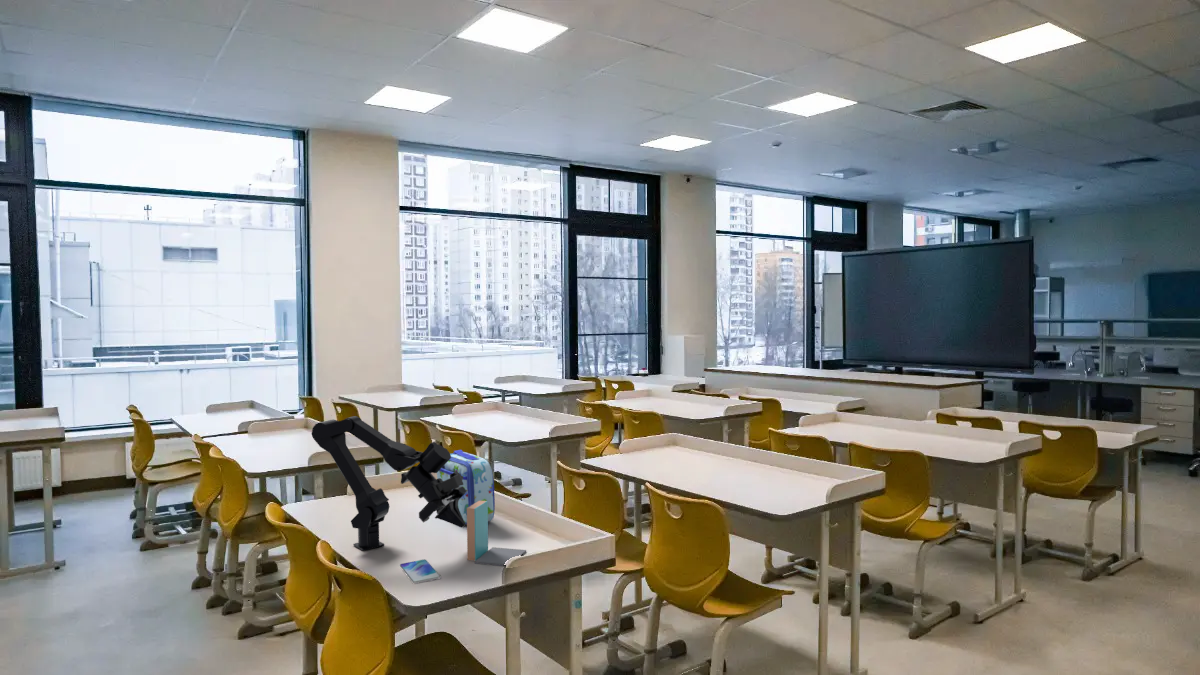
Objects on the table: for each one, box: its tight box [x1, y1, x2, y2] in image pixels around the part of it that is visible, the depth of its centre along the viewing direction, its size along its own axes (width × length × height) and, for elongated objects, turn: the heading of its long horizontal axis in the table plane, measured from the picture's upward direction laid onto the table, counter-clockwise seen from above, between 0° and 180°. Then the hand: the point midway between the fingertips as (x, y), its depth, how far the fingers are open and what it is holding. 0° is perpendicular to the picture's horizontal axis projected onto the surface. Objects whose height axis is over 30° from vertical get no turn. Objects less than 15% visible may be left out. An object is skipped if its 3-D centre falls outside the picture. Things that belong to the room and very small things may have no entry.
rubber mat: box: [474, 546, 527, 567], centre depth 199 cm, size 10×12×1 cm
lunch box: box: [436, 449, 496, 525], centre depth 237 cm, size 26×11×21 cm, turn 35°
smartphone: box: [398, 559, 442, 584], centre depth 189 cm, size 7×1×15 cm
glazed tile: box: [466, 501, 489, 562], centre depth 201 cm, size 2×8×14 cm, turn 165°
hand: (463, 526), depth 201 cm, fingers closed
